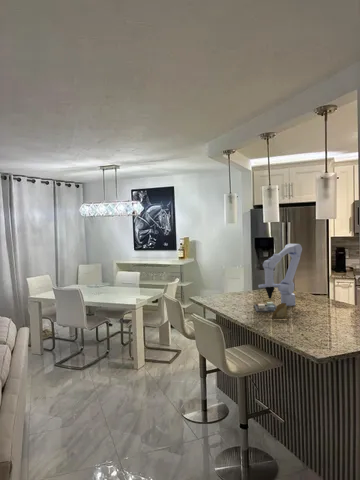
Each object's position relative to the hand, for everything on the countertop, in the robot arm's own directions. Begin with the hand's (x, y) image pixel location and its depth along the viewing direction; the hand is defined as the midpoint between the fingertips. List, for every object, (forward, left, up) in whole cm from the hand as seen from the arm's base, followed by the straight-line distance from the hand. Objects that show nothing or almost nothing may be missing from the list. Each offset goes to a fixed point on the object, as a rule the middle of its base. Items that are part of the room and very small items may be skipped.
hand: (269, 298), depth 241 cm
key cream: (+6, +6, -5) cm, 10 cm away
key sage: (0, 0, -5) cm, 5 cm away
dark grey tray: (+3, +3, -8) cm, 9 cm away
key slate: (0, +6, -6) cm, 9 cm away
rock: (-3, +23, -8) cm, 25 cm away
